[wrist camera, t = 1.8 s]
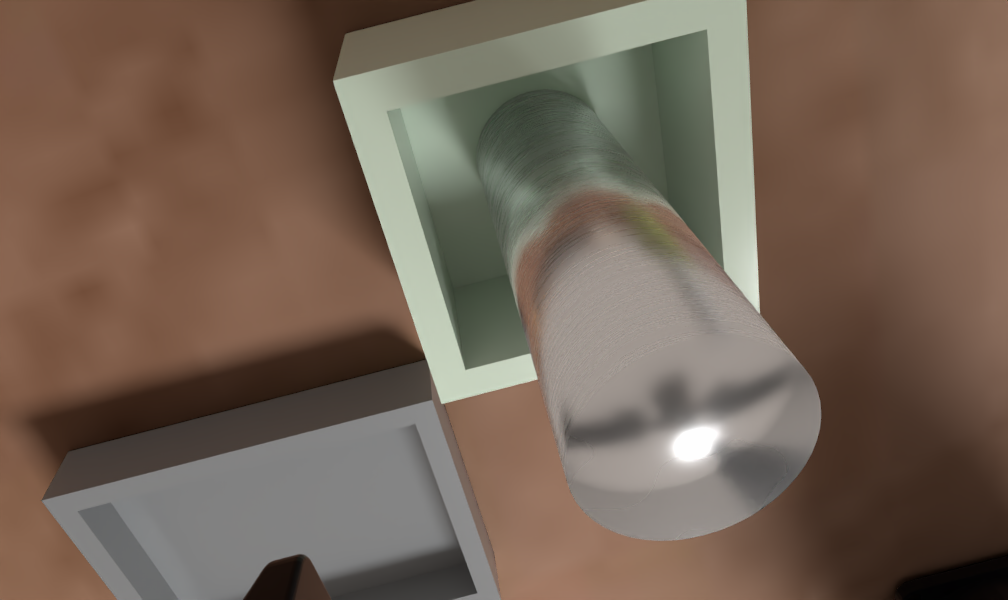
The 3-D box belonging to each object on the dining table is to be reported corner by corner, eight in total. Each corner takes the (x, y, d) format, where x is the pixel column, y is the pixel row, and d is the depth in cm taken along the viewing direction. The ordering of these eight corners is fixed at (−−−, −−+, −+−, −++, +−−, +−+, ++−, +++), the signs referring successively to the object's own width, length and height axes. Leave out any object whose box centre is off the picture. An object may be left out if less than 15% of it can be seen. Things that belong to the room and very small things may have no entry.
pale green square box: (667, -49, 16) (745, -25, 12) (694, 240, 19) (760, 322, 16) (345, 33, 16) (332, 80, 12) (432, 308, 19) (441, 404, 16)
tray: (429, 358, 20) (432, 399, 19) (494, 553, 24) (501, 600, 23) (68, 451, 20) (41, 500, 19) (195, 630, 24) (181, 683, 23)
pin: (595, 74, 16) (822, 305, 8) (614, 197, 18) (820, 504, 9) (462, 108, 16) (542, 378, 8) (492, 229, 18) (586, 565, 9)
